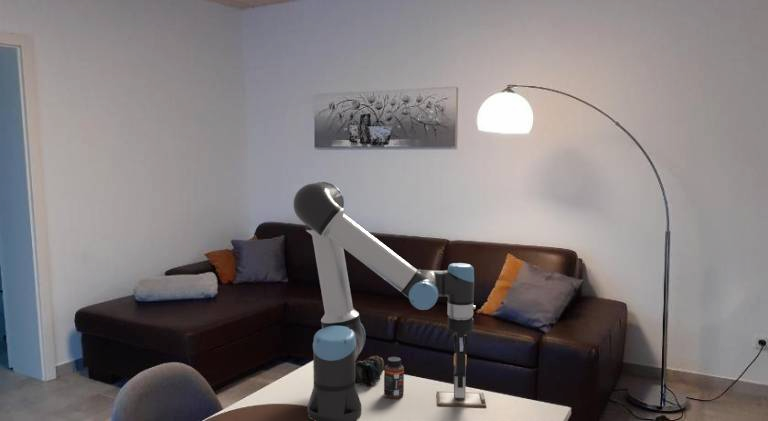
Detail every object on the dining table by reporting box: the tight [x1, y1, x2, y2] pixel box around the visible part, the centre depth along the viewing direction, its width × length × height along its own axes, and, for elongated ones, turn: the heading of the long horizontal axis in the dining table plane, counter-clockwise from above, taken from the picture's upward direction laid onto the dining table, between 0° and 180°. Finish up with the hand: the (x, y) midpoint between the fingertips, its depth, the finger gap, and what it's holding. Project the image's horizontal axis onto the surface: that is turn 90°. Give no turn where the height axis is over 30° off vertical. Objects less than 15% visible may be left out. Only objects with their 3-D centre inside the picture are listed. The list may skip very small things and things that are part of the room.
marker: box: [453, 352, 468, 400], centre depth 170 cm, size 4×4×13 cm
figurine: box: [355, 355, 385, 387], centre depth 186 cm, size 9×8×15 cm
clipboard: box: [436, 391, 487, 408], centre depth 171 cm, size 14×9×2 cm, turn 86°
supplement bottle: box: [383, 356, 405, 399], centre depth 174 cm, size 6×6×11 cm
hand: (459, 394), depth 170 cm, fingers closed on marker, 3 cm apart
